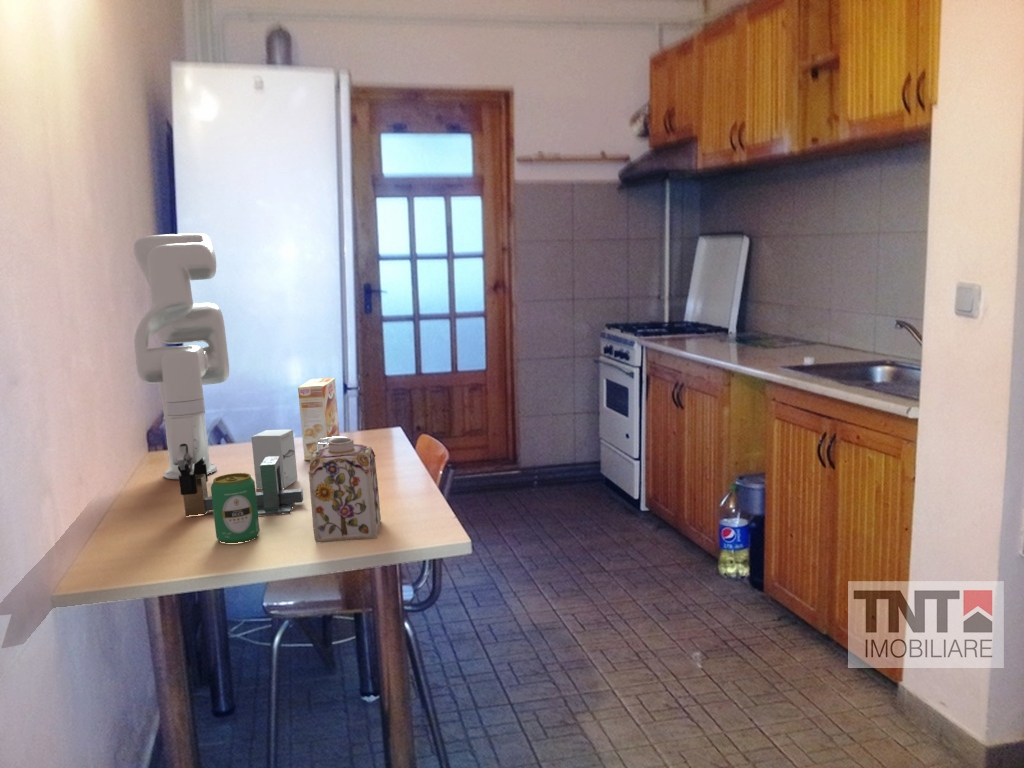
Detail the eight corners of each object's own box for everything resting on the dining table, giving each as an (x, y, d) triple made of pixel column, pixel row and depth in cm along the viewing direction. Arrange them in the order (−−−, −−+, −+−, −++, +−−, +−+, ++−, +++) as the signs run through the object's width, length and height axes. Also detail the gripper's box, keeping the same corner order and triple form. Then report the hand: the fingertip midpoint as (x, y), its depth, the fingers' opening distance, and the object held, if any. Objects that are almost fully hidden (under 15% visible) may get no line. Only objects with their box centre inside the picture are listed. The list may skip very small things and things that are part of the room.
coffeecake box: (330, 459, 232) (323, 385, 229) (303, 460, 232) (296, 387, 229) (342, 446, 246) (335, 377, 243) (316, 447, 247) (310, 378, 244)
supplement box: (285, 489, 205) (279, 435, 203) (255, 489, 206) (249, 436, 204) (298, 480, 212) (293, 428, 210) (270, 480, 213) (264, 429, 211)
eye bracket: (260, 500, 196) (255, 455, 194) (297, 497, 197) (292, 452, 195) (250, 516, 184) (245, 468, 182) (290, 513, 185) (285, 465, 183)
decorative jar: (322, 524, 176) (314, 435, 173) (381, 520, 177) (374, 431, 174) (313, 544, 164) (304, 449, 162) (377, 539, 165) (369, 444, 162)
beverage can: (218, 548, 165) (211, 485, 163) (214, 536, 172) (208, 476, 171) (263, 540, 168) (256, 479, 166) (257, 529, 176) (250, 470, 174)
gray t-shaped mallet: (190, 511, 190) (186, 475, 189) (304, 501, 193) (300, 466, 192) (185, 517, 186) (181, 480, 185) (302, 507, 189) (298, 470, 188)
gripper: (177, 403, 193) (186, 480, 195) (155, 416, 176) (165, 500, 178) (213, 400, 194) (221, 477, 196) (194, 413, 177) (204, 497, 179)
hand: (194, 488), depth 187 cm, fingers open, 9 cm apart
